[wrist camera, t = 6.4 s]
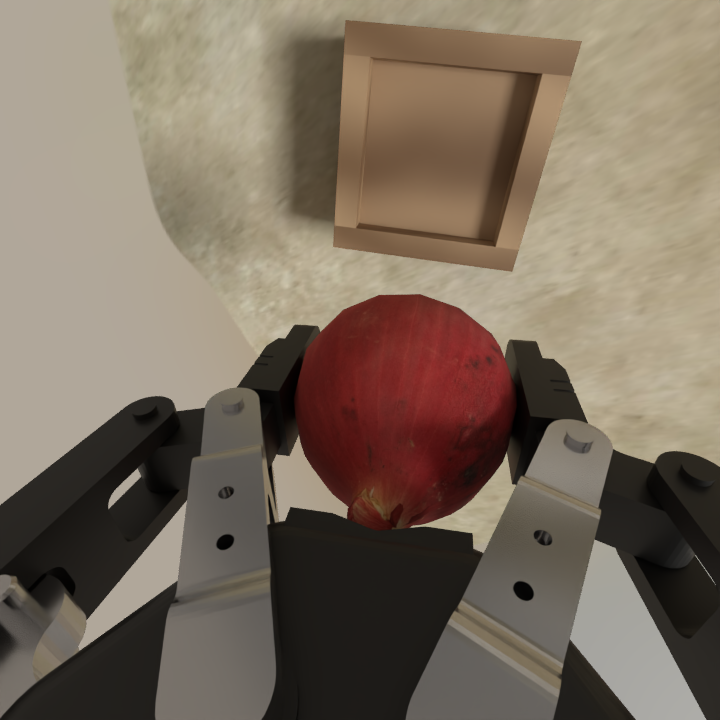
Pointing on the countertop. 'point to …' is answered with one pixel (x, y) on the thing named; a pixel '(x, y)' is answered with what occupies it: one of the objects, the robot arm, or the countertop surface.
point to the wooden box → (444, 140)
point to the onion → (404, 409)
